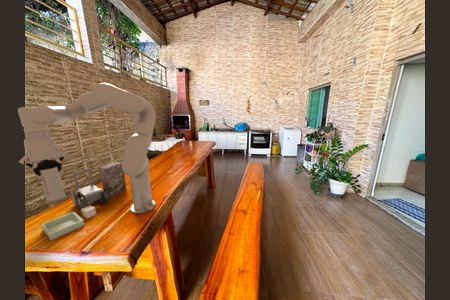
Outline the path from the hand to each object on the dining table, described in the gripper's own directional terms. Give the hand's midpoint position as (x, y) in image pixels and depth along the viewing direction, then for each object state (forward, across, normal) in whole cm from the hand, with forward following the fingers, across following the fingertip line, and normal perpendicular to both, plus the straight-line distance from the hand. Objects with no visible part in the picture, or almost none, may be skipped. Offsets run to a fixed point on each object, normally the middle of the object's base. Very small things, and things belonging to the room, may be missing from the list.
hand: (49, 172), depth 80 cm
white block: (+25, -8, +8) cm, 28 cm away
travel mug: (+14, 0, 0) cm, 14 cm away
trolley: (+25, -14, -3) cm, 28 cm away
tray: (+25, +2, +10) cm, 27 cm away
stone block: (+25, -28, -6) cm, 38 cm away
